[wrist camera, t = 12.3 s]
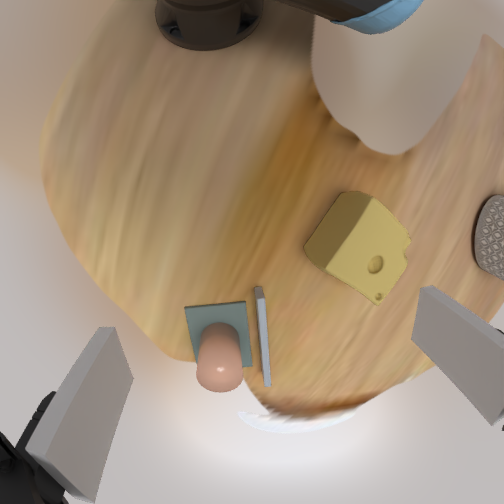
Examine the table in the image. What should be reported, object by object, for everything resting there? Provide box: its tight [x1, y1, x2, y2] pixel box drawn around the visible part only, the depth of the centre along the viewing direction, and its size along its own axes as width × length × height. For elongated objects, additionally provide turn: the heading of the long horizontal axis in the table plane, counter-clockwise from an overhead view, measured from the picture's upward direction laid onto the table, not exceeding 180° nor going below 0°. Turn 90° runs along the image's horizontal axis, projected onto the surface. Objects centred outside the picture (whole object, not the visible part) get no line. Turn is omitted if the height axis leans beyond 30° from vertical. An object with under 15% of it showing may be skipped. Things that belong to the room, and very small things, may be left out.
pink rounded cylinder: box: [196, 322, 243, 392], centre depth 38 cm, size 6×6×9 cm
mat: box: [185, 301, 252, 367], centre depth 43 cm, size 12×9×1 cm
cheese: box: [304, 191, 411, 306], centre depth 36 cm, size 10×11×10 cm
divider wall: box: [254, 287, 271, 387], centre depth 42 cm, size 16×1×4 cm, turn 5°
